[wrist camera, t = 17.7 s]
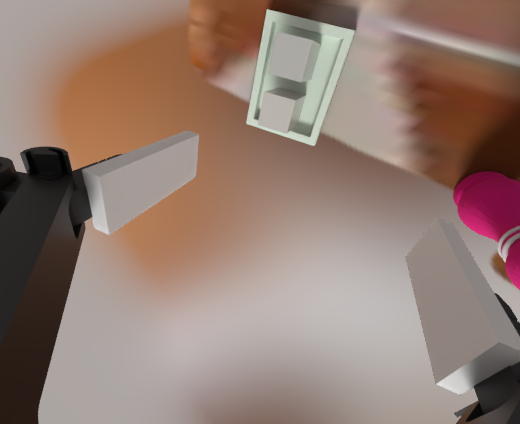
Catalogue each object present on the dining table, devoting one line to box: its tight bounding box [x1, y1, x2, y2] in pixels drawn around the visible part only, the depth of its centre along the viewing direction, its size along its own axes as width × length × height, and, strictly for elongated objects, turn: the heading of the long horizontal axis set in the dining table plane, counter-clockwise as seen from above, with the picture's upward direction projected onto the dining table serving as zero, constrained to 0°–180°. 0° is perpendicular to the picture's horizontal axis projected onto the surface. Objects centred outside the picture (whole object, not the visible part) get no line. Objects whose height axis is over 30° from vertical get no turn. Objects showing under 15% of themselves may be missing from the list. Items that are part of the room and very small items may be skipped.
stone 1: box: [268, 32, 321, 82], centre depth 30 cm, size 4×4×7 cm
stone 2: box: [258, 87, 306, 134], centre depth 33 cm, size 4×4×7 cm
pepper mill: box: [453, 171, 520, 289], centre depth 26 cm, size 7×7×20 cm
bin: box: [246, 9, 355, 146], centre depth 34 cm, size 14×11×2 cm
